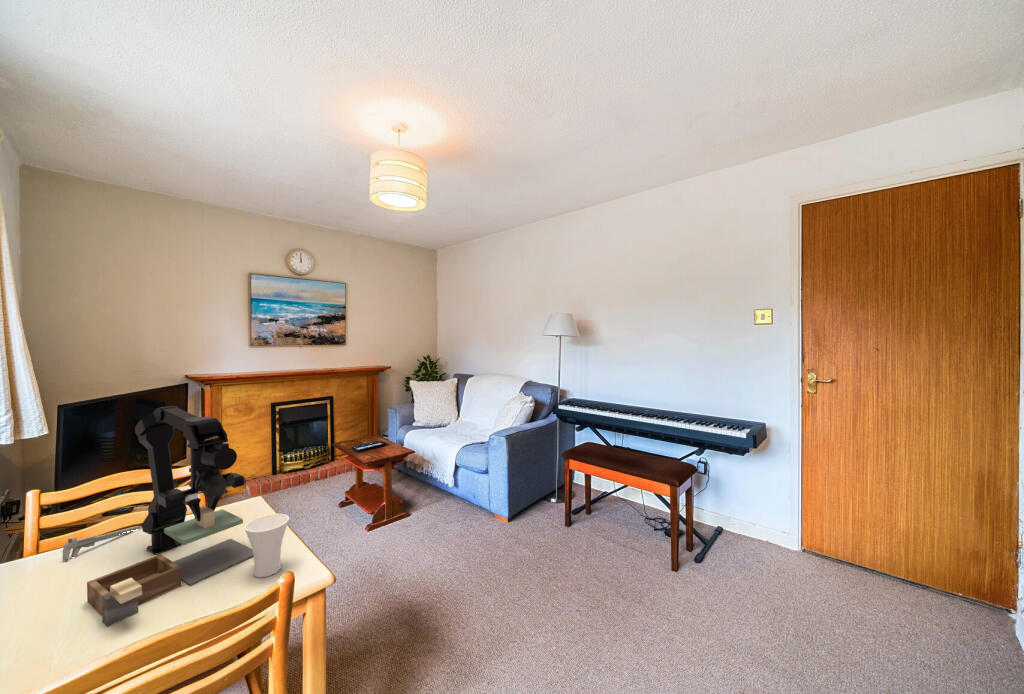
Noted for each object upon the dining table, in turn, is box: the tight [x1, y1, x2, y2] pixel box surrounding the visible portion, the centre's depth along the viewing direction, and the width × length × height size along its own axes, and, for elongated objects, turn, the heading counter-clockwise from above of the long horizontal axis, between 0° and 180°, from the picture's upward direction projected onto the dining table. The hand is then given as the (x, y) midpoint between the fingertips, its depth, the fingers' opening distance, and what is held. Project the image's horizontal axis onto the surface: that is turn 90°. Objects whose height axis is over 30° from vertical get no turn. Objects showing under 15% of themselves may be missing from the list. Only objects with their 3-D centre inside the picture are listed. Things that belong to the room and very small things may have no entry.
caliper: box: [62, 525, 142, 562], centre depth 121 cm, size 20×1×6 cm, turn 171°
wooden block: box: [110, 578, 142, 604], centre depth 88 cm, size 6×4×2 cm, turn 61°
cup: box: [243, 513, 290, 578], centre depth 108 cm, size 10×10×14 cm
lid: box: [164, 505, 244, 546], centre depth 110 cm, size 12×14×5 cm
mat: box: [172, 538, 254, 587], centre depth 112 cm, size 16×17×1 cm
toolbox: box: [86, 553, 183, 627], centre depth 96 cm, size 15×15×6 cm
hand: (204, 518), depth 110 cm, fingers closed on lid, 2 cm apart
